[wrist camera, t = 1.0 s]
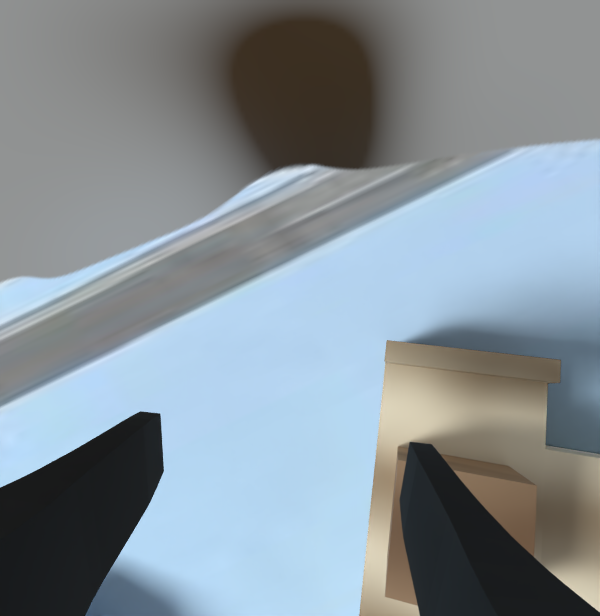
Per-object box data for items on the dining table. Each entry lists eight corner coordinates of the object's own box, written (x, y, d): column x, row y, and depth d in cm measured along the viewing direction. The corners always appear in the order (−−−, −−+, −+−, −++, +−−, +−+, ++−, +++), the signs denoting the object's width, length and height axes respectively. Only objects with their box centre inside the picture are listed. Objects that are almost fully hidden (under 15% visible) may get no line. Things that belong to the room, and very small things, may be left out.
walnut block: (502, 583, 18) (530, 636, 14) (387, 555, 19) (384, 596, 15) (508, 465, 19) (536, 485, 15) (397, 446, 20) (397, 459, 16)
